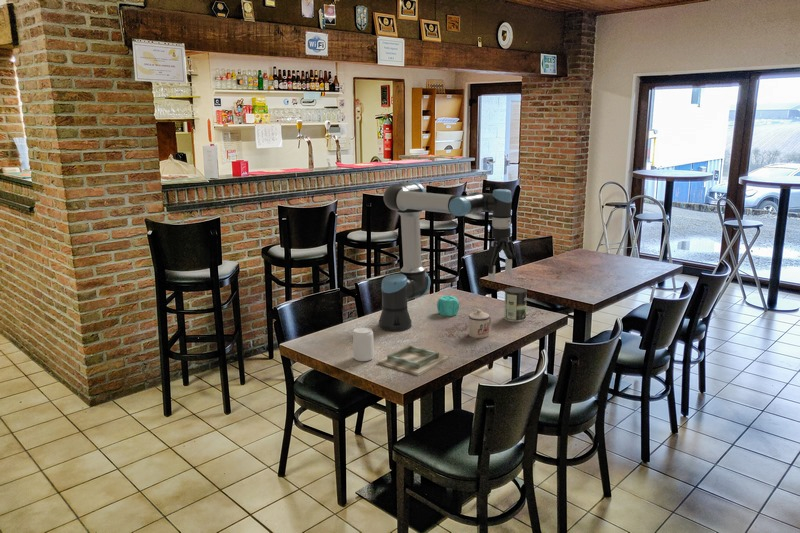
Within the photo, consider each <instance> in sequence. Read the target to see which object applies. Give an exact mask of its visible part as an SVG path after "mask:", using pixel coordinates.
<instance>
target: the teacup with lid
mask: <svg viewBox="0 0 800 533" xmlns="http://www.w3.org/2000/svg"><path fill="white" fill-rule="evenodd" d="M491 324H492V317H490V314H489V313H487V312H484V311H483V310H482V309H480V308H478V309H476V311H474V312H471V313H469V315H468V335H469V336H470V337H472V338H473V339H484V338H488V337H489V336H490V326H491Z"/></svg>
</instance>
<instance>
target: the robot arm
mask: <svg viewBox="0 0 800 533" xmlns="http://www.w3.org/2000/svg"><path fill="white" fill-rule="evenodd" d="M383 192H384V193H383V202H384V204H385V206H386V207H387V208H388V209H390V210H393V211H397V214H398V215H399V216H400V226H401V228H400V229H401V244H402V245H401V246H402V247H401V248H402V262H403V264H402V265H403V266H402V268H400V273H394V274H388V275H386V276H384V277H383V278H382V280H381V287H380V289H381V314H380V316H379V319H378V328H379V329H380V330H384V331H388V332H399V331H400V332H401V331H406V330H408V329H410V328H412V323H413V322H412V319H411V316H410V313H409V308H408V301H410V300H413V299H415V298H419V297H422V296H424V295H426V294H427V293H428V292H429V290H430V287H431V278H430V276H429V273H428V272H426V268H425V267H424V266H423V265H422V246H421V245H422V244H421V222H420V221H421V219H420V215H421V214H422V213H423V211H425V212H434V213H435V212H436V213H445V214H452V215H453V216H456V217H463V216H467V215H471V214H476V213H479V212H489V213H491V214H492V218H491V219H492V222H491V226H492V228H491V232H492V233H491V237H492V238H494V240H490V241H489V248H488V252H487V255H486V258H485V262H484V264H485V265H486V266H488V275H487V276H488V278H487V279H488V281H489V282H490V281H491V282H496V265H495V264H496V261H497V259H498V256H499V254H500V253H501V252H502V251H503V253H504V255H505V267H504V268H505V269H504V270H505V271H504V274H505V275H509V276H510V275H512V273H513V260H515V259H516V253H515V248H514V244H513V238H512V236H511V233H512V230H511V226H512V202H513V200H512V197H513V196H512V191H511V190H510V189H507V188H504V189H503V188H498V189H493V190H492V193H488V192H485V193H484V192H478V191H475V192H470V193H468V195H454V194H445V193H433V192H427V191H426V189H425V187H424V186H423V185H422V184H421V183H419V182H417V181H407V182H401V183H394V184H391V185H389V186H388V187H387V188H386V189H385V190H384V191H383Z"/></svg>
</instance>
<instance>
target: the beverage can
mask: <svg viewBox="0 0 800 533" xmlns="http://www.w3.org/2000/svg"><path fill="white" fill-rule="evenodd" d="M374 344H375V343H374V331H373V329H372V328H371V327H367V326H361V327H356V328H354V329H353V332H352V350H353V351H352V352H353V359H354V360H356V361H358V362H368V361H371V360H373V358H375V350H374V348H375V346H374Z"/></svg>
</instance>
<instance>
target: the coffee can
mask: <svg viewBox="0 0 800 533" xmlns="http://www.w3.org/2000/svg"><path fill="white" fill-rule="evenodd" d="M527 293H528V289H527V288H523V287H520V286H519V287H518V286H511V287H507V288H504V317H503V318H504V320H505V321H509V322H514V323H519V322H524V321H526V320H527V298H528V297H527Z"/></svg>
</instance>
